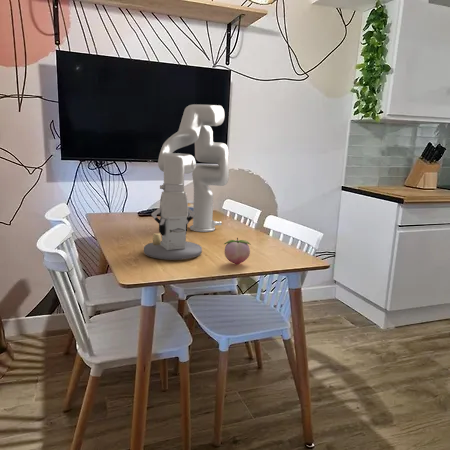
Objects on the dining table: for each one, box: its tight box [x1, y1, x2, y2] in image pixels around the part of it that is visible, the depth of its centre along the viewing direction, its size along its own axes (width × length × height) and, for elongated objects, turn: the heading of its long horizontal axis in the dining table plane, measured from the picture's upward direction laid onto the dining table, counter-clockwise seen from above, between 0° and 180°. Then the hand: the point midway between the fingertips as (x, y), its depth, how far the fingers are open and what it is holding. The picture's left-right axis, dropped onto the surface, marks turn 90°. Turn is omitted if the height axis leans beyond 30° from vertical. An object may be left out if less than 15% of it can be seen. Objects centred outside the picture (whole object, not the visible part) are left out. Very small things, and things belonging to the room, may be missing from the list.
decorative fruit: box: [224, 237, 252, 265], centre depth 143 cm, size 9×8×10 cm
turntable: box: [143, 232, 203, 261], centre depth 154 cm, size 22×22×6 cm
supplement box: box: [161, 216, 187, 250], centre depth 153 cm, size 7×7×13 cm
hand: (173, 233), depth 153 cm, fingers open, 8 cm apart
